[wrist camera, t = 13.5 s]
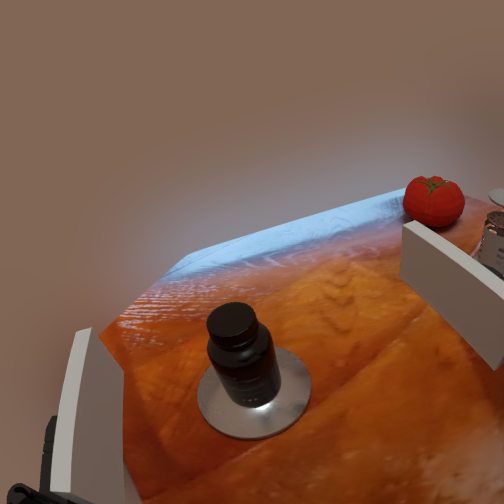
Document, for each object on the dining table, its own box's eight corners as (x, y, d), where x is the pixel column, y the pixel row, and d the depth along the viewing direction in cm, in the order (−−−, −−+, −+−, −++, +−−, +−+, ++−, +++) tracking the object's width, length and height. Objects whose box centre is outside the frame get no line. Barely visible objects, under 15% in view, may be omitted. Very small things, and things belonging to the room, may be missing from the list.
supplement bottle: (228, 367, 37) (201, 298, 31) (280, 362, 37) (266, 289, 30) (224, 412, 31) (190, 347, 25) (283, 407, 31) (268, 339, 25)
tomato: (470, 220, 57) (475, 181, 53) (439, 244, 53) (444, 199, 48) (426, 202, 69) (427, 166, 64) (389, 221, 64) (389, 180, 59)
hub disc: (288, 337, 41) (287, 331, 41) (329, 415, 29) (329, 411, 29) (193, 367, 40) (191, 361, 39) (210, 454, 28) (207, 450, 27)
